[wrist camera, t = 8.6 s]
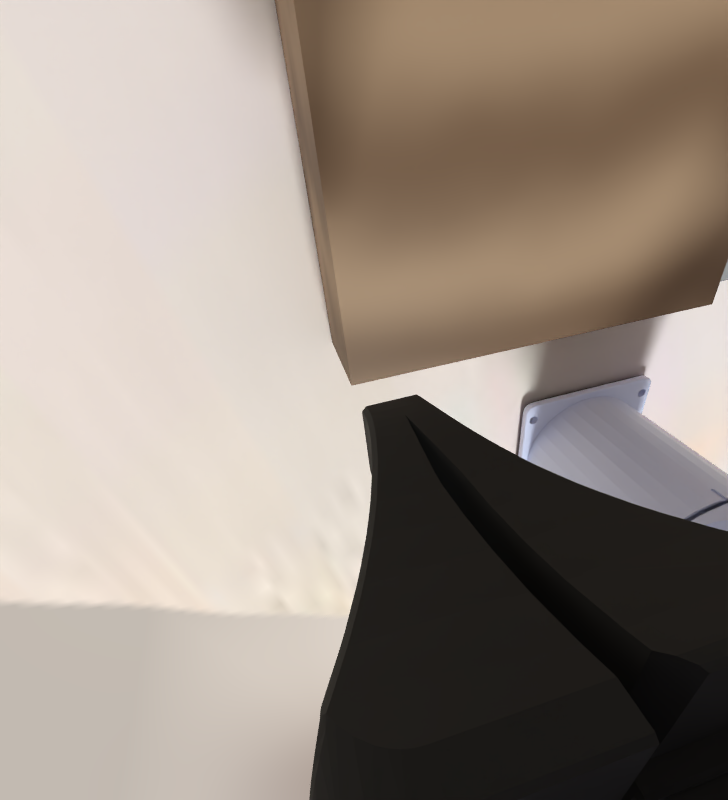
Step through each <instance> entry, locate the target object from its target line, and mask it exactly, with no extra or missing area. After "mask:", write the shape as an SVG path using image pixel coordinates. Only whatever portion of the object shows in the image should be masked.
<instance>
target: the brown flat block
mask: <svg viewBox="0 0 728 800" xmlns="http://www.w3.org/2000/svg"><path fill="white" fill-rule="evenodd" d="M275 4H276V10H277V16H278V22H279V28H280V34H281V40H282V46H283V52H284V58H285V63H286V69H287V75H288V81H289V87H290V93H291V99H292V105H293V111H294V117H295V123H296V129H297V135H298V141H299V147H300V152H301V158H302V164H303V170H304V176H305V182H306V188H307V194H308V200H309V206H310V212H311V218H312V224H313V230H314V236H315V241H316V247H317V253H318V259H319V265H320V271H321V277H322V283H323V289H324V295H325V301H326V307H327V313H328V319H329V325H330V330H331V336H332V342H333V345H334V347H335V349H336V352H337V354H338V356H339V358H340V361H341V363H342V365H343V367H344V370H345V372H346V374H347V376H348V379H349V381H350V383H351V385H356V384H361V383H365V382H369V381H374V380H378V379H383V378H387V377H392V376H396V375H400V374H405V373H409V372H414V371H418V370H423V369H427V368H431V367H436V366H440V365H445V364H449V363H453V362H458V361H462V360H467V359H471V358H476V357H480V356H484V355H489V354H493V353H498V352H502V351H507V350H511V349H515V348H520V347H524V346H529V345H533V344H538V343H542V342H546V341H551V340H555V339H560V338H564V337H568V336H573V335H577V334H582V333H586V332H591V331H595V330H599V329H604V328H608V327H613V326H617V325H622V324H626V323H630V322H635V321H639V320H644V319H648V318H652V317H657V316H661V315H666V314H670V313H675V312H679V311H683V310H688V309H692V308H697V307H701V306H706V305H710V304H712V303H713V300H714V297H715V294H716V292H717V289H718V286H719V283H720V280H721V277H722V275H723V272H724V269H725V266H726V263H727V260H728V0H275Z"/></svg>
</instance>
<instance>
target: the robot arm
mask: <svg viewBox="0 0 728 800" xmlns="http://www.w3.org/2000/svg"><path fill="white" fill-rule="evenodd" d="M650 384H651V380H650V379H649V378H648V377H646V376H638V377H634V378H630V379H626V380H622V381H618V382H613V383H609V384H605V385H601V386H597V387H593V388H589V389H585V390H581V391H577V392H573V393H569V394H565V395H561V396H557V397H553V398H549V399H545V400H541V401H537V402H533V403H530V404H528V405H527V406H526V407H525V408H524V411H523V418H522V427H521V436H520V445H519V454H518V456H517V455H515V454H513V453H512V452H510V451H508V450H506V449H504V448H502V447H500V446H498V445H497V444H495V443H493V442H491V441H489V440H488V439H486V438H484V437H483V436H481V435H479V434H477V433H476V432H474V431H472V430H471V429H469V428H468V427H466V426H464V425H463V424H461V423H460V422H458V421H456V420H455V419H453V418H452V417H450V416H449V415H447V414H446V413H444V412H442V411H441V410H439V409H438V408H436V407H435V406H433V405H432V404H430V403H429V402H427V401H426V400H424V399H423V398H421V397H420V396H418V395H413V396H409V397H404V398H400V399H396V400H391V401H387V402H383V403H379V404H374V405H370V406H366V408H365V409H364V410H363V411H362V414H363V421H364V428H365V435H366V442H367V450H368V457H369V464H370V470H371V474H372V486H371V502H370V512H369V521H368V528H367V535H366V541H365V547H364V552H363V558H362V564H361V569H360V573H359V578H358V582H357V587H356V591H355V595H354V598H353V602H352V606H351V610H350V614H349V618H348V622H347V626H346V630H345V633H344V637H343V640H342V644H341V647H340V650H339V653H338V656H337V660H336V663H335V666H334V669H333V672H332V675H331V678H330V681H329V684H328V687H327V690H326V694H325V697H324V700H323V703H322V706H321V713H320V723H319V729H318V736H317V742H316V749H315V756H314V764H313V771H312V779H311V788H310V800H728V474H727V473H725V472H724V471H722V470H721V469H719V468H718V467H717V466H715V465H714V464H712V463H711V462H709V461H708V460H707V459H705V458H704V457H702V456H701V455H699V454H698V453H697V452H695V451H694V450H692V449H691V448H689V447H688V446H687V445H685V444H684V443H682V442H681V441H679V440H678V439H677V438H675V437H674V436H672V435H671V434H669V433H668V432H667V431H665V430H664V429H662V428H661V427H659V426H658V425H657V424H655V423H654V422H652V421H651V420H649V419H648V418H647V417H645V416H644V415H642V411H643V407H644V404H645V401H646V397H647V394H648V391H649V387H650ZM532 417H533V418H532ZM531 418H532V419H531ZM530 419H531V420H530Z"/></svg>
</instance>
